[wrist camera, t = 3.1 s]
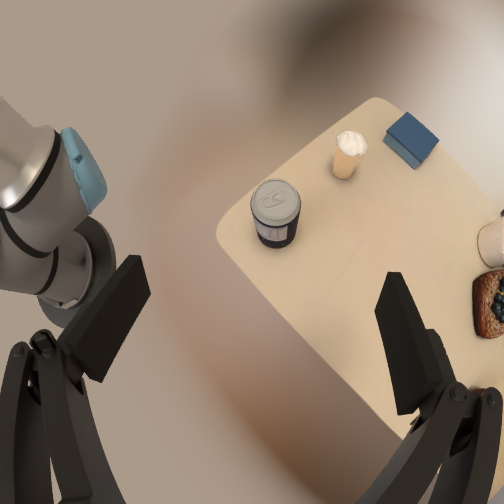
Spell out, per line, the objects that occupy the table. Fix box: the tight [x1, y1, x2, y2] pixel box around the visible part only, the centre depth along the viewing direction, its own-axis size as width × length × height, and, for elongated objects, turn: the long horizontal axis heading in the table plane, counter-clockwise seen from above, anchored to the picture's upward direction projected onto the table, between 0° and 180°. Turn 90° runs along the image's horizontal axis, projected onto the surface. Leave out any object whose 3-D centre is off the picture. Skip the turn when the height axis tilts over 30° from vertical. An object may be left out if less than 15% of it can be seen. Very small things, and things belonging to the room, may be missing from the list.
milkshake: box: [332, 131, 367, 179], centre depth 37 cm, size 4×5×10 cm
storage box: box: [383, 112, 439, 169], centre depth 41 cm, size 8×8×4 cm
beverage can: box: [251, 179, 301, 248], centre depth 35 cm, size 6×6×12 cm
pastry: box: [472, 270, 504, 339], centre depth 31 cm, size 11×12×6 cm
